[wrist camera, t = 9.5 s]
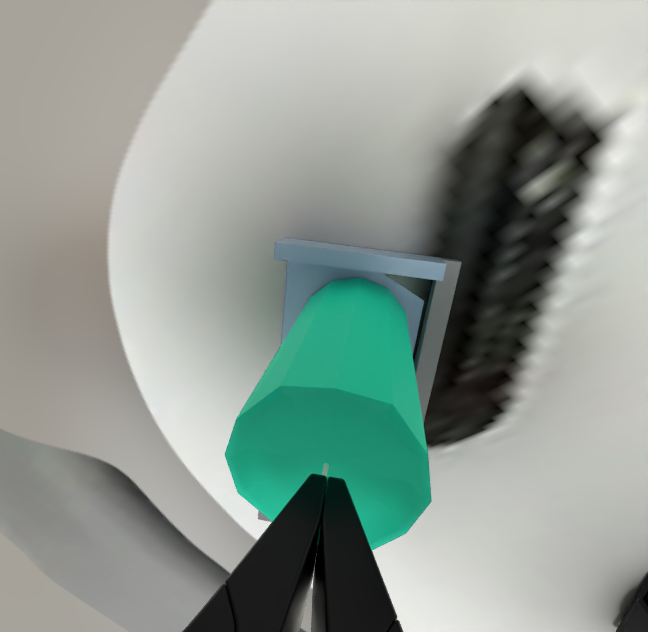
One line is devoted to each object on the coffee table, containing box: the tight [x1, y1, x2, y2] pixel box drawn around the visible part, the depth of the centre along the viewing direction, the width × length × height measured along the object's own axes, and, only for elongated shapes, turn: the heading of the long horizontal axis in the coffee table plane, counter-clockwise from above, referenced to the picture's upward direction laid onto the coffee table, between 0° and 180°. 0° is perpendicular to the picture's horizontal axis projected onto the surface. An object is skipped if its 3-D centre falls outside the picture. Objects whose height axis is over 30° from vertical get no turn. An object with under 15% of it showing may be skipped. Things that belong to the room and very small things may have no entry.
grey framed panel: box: [258, 238, 462, 522], centre depth 20 cm, size 9×17×2 cm, turn 174°
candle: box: [225, 278, 431, 550], centre depth 14 cm, size 6×6×12 cm
